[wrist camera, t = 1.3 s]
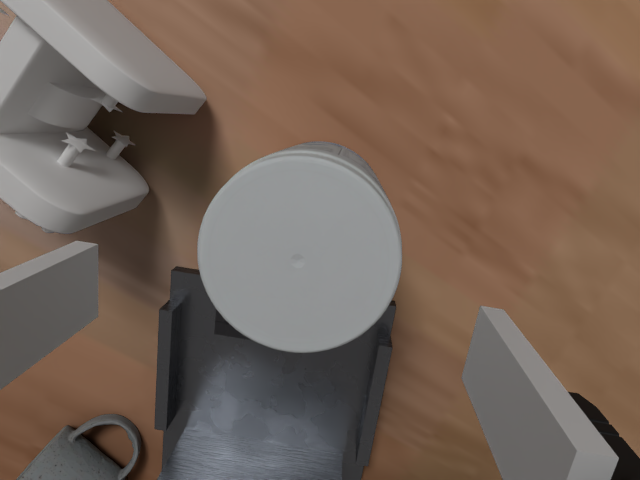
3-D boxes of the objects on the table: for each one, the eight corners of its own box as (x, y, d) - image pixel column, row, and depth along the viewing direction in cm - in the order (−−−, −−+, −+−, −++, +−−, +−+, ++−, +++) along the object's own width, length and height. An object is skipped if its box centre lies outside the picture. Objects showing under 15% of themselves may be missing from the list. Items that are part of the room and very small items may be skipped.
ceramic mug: (103, 506, 43) (53, 585, 36) (36, 456, 42) (-31, 527, 35) (167, 442, 41) (127, 513, 33) (97, 388, 40) (40, 448, 32)
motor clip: (176, 254, 35) (92, 318, 24) (397, 289, 35) (417, 372, 23) (163, 514, 43) (94, 656, 31) (345, 547, 42) (341, 704, 31)
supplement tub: (311, 285, 35) (282, 396, 21) (233, 194, 34) (145, 247, 20) (409, 212, 33) (450, 281, 19) (331, 111, 32) (311, 103, 17)
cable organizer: (227, 106, 32) (159, 99, 21) (144, 208, 35) (44, 250, 24) (63, -47, 30) (-109, -144, 19) (-12, 73, 33) (-201, 49, 22)
